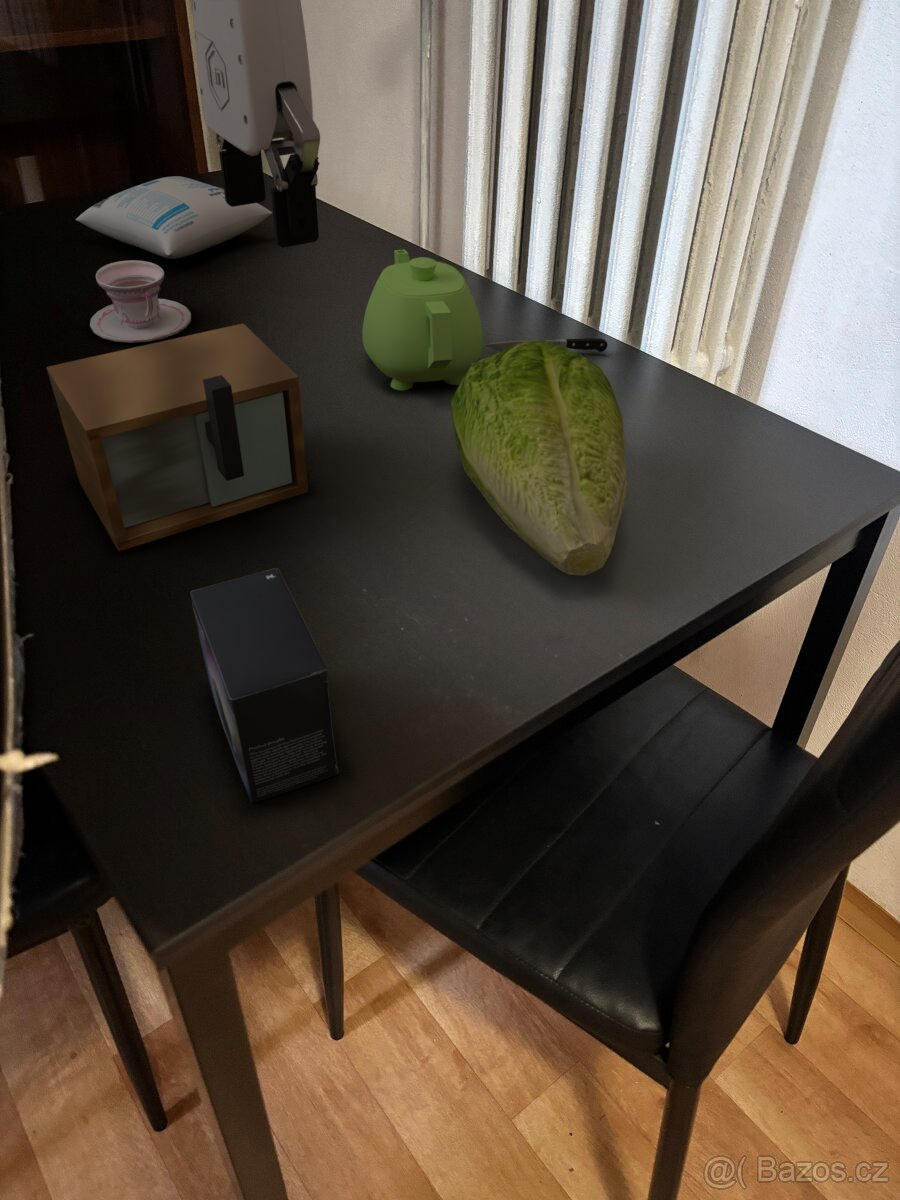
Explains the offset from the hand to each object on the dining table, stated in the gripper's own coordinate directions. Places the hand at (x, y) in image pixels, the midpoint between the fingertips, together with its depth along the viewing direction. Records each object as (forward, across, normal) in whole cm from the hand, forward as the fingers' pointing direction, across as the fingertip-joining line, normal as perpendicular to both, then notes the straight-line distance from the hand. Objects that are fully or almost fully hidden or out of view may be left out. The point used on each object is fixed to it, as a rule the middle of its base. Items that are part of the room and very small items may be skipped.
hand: (270, 222), depth 70 cm
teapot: (+25, -15, +23) cm, 37 cm away
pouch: (+25, -65, +11) cm, 71 cm away
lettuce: (+25, +15, +18) cm, 34 cm away
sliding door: (+23, +2, -5) cm, 24 cm away
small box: (+25, +27, -14) cm, 39 cm away
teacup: (+25, -42, -2) cm, 49 cm away
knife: (+25, -11, +37) cm, 46 cm away
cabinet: (+25, -5, -8) cm, 27 cm away
